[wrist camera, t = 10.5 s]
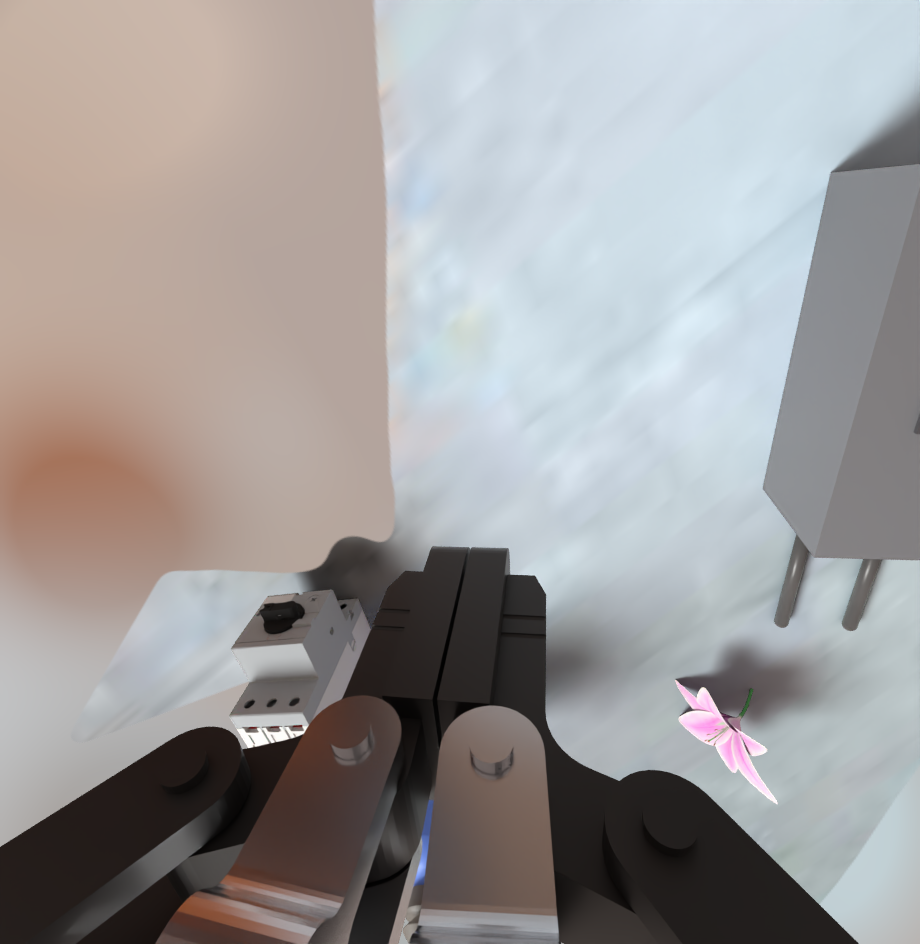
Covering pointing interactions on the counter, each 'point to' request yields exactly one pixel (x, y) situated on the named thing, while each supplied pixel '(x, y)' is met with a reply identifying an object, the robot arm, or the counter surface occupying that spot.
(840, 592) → the counter surface
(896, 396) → the box
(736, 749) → the lily
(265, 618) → the circuit breaker
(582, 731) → the counter surface
